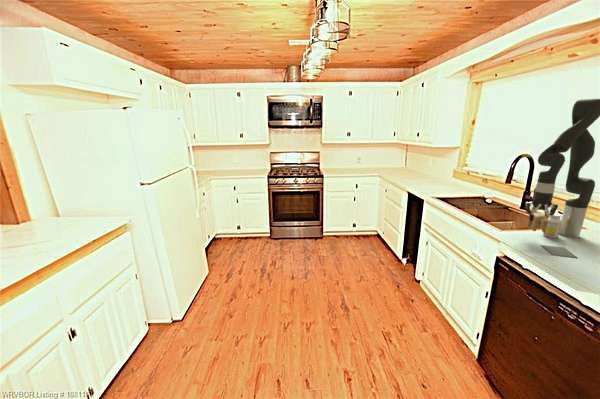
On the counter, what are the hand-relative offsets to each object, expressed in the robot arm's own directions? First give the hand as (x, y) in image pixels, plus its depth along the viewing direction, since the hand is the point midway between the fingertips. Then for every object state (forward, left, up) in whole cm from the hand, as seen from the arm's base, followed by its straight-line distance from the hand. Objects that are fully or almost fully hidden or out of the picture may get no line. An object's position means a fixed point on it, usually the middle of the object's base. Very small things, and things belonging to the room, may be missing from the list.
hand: (537, 221), depth 156 cm
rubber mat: (+13, +6, -11) cm, 18 cm away
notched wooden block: (0, 0, -4) cm, 4 cm away
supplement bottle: (-11, +12, -11) cm, 20 cm away
